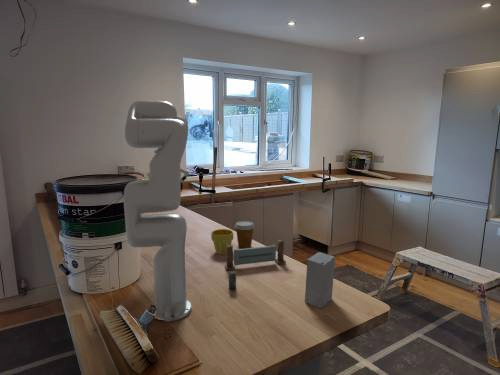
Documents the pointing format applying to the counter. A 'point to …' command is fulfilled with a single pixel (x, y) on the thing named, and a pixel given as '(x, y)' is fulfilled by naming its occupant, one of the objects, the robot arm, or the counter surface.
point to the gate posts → (231, 267)
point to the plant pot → (221, 240)
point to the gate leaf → (254, 255)
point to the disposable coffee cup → (244, 233)
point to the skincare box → (319, 279)
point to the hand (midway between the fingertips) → (168, 192)
